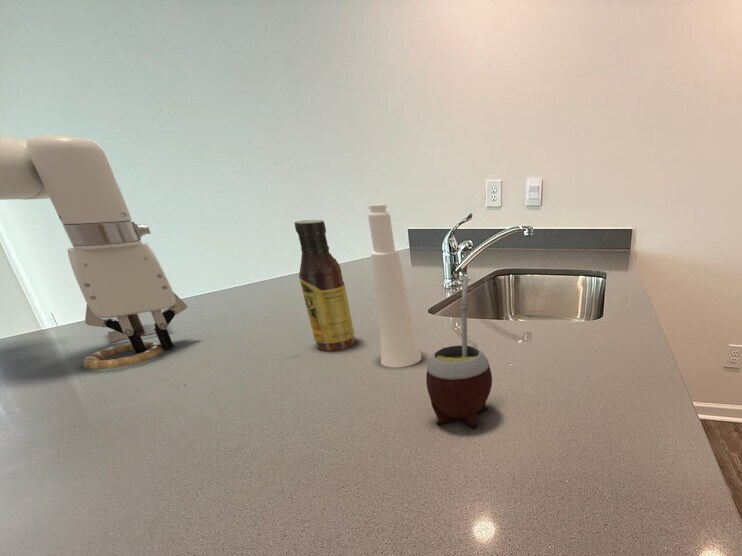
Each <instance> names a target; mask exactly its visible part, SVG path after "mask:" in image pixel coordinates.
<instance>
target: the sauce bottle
mask: <svg viewBox="0 0 742 556" xmlns="http://www.w3.org/2000/svg"><path fill="white" fill-rule="evenodd" d="M294 227H295V228H294V229H295V232H296V233H297V235H298V240H299V244H300V251H301V258H300V259H301V260H300V268H299V274H298V279H299V282H300V286H301V287H300V288H301V289H302V295H303V299H304V303H305V306H306V311H307V315H308V318H309V322H310V327H311V331H312V334H313V339H314V341H315V343H316V346H317V348H318V349H319V350H321V351H325V352H326V351H329V352H330V351H339V350H344V349H347V348H350V347H352V346H353V345H354V344H355V341H356V339H355V330H354V326H353V321H352V316H351V311H350V306H349V301H348V295H347V290H346V285H345V282H344V279H343V274H342V268H341V265H340V263H339V262H338V261H337V258H335V257H333V255H332V254H331V252H330V246H329V245H328V240H327V235H326V233H327V228H326V223H325V221H324V220H323V219H306V220H305V219H304V220H297V221H294Z"/></svg>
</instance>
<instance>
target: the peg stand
mask: <svg viewBox="0 0 742 556" xmlns="http://www.w3.org/2000/svg"><path fill="white" fill-rule="evenodd" d="M127 317H128V319H129V321H130V324H131V326H132V327H133V328H135V330H136V332H139V334H140V337H141V338H142V337H146V336H147V337H148V336H152V335H157V334H156V332H155V329H154V328H155V325H154V324H155V323H156V322H155V323H154V322H153V323H148V324H145V325H143V323H142V321H141V319H140V316H139V313H138V314H132V315H127ZM107 334H108V338H109V341H110V343H111V344H112V343H116V342H122V341H126V340H129V338H128V336H126V335H125V334H123V333H120V332H118V331H115V330H112V331H107Z"/></svg>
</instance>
